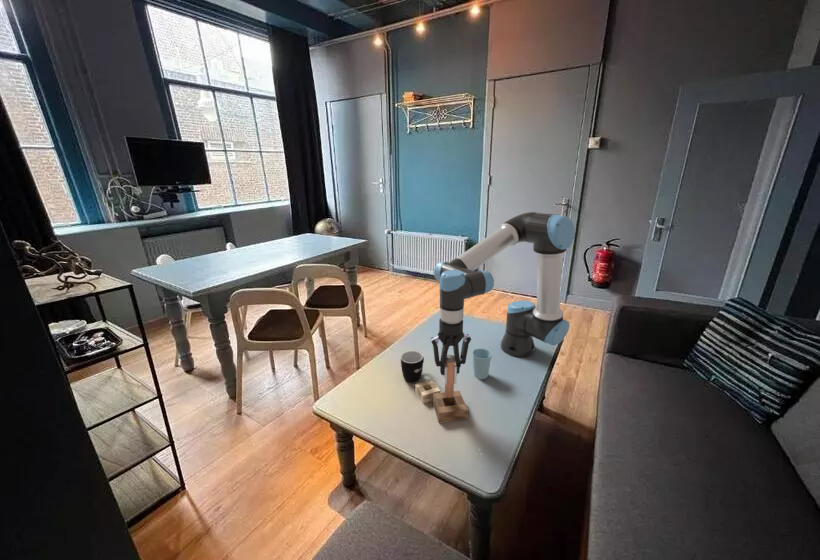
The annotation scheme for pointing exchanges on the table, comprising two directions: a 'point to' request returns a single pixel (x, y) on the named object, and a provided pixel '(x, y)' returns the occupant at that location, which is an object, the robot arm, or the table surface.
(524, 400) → the table surface
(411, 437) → the table surface
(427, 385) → the bead beech
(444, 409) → the brown wooden square frame
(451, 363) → the dowel
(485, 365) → the cup
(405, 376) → the mug
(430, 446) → the table surface
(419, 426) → the table surface
